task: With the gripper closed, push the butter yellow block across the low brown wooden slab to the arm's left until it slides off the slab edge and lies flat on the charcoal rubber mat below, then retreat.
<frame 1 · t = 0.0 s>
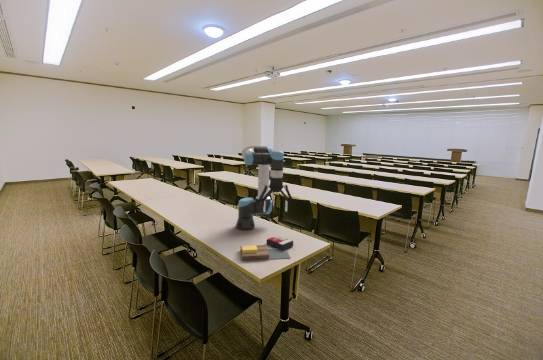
hand: (275, 211, 156), 28 cm above the table, fingers open, 13 cm apart
brown wooden slab: (254, 255, 159), on the table
mat: (277, 253, 162), on the table
butter yellow block: (249, 250, 158), point 3 cm above the table, touching brown wooden slab
calculator: (279, 245, 174), on the table, touching mat
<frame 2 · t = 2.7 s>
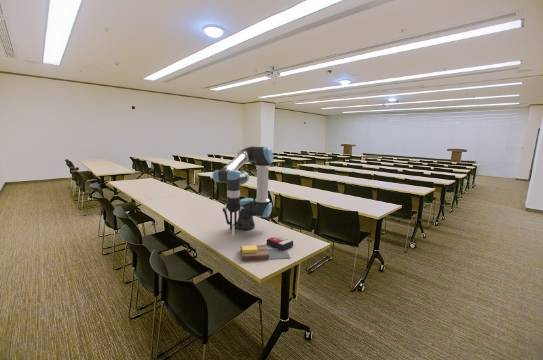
hand: (233, 234, 153), 14 cm above the table, fingers closed
nothing on the table moved.
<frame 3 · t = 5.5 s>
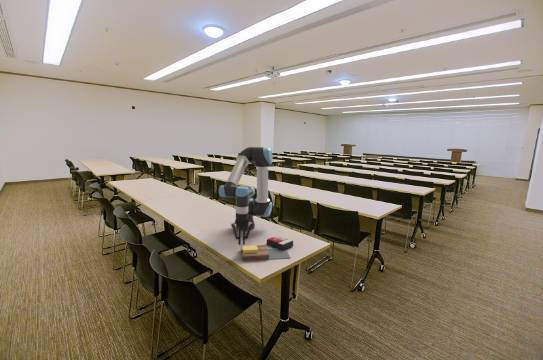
hand: (241, 249, 156), 4 cm above the table, fingers closed
butter yellow block: (250, 250, 158), point 3 cm above the table, touching gripper
everything else where it was.
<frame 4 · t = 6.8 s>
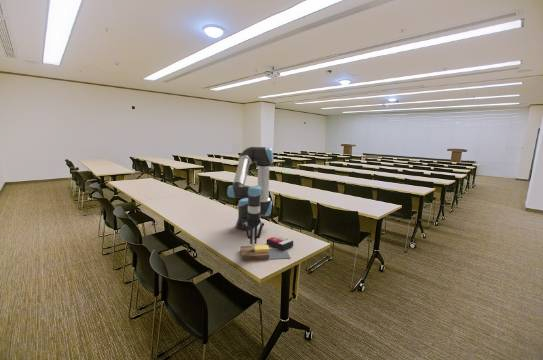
hand: (253, 248, 158), 4 cm above the table, fingers closed
butter yellow block: (261, 250, 159), point 3 cm above the table, touching brown wooden slab
everything else where it was.
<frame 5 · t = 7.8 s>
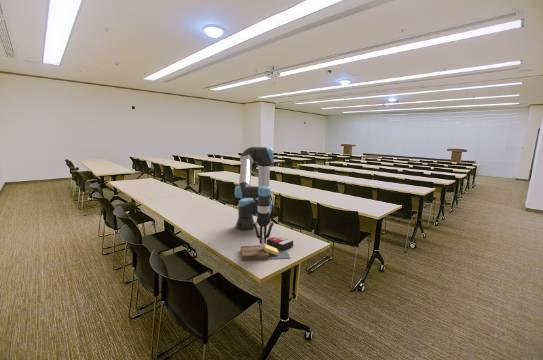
hand: (262, 248, 159), 4 cm above the table, fingers closed
butter yellow block: (270, 251, 160), point 2 cm above the table, tilted 24°, touching gripper, mat
everything else where it was.
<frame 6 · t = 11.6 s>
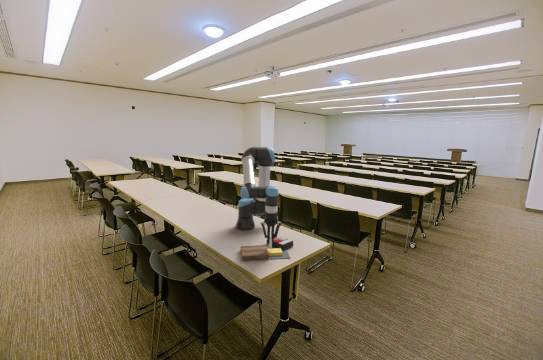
hand: (270, 247, 160), 4 cm above the table, fingers closed
butter yellow block: (274, 253, 161), resting on mat
everything else where it was.
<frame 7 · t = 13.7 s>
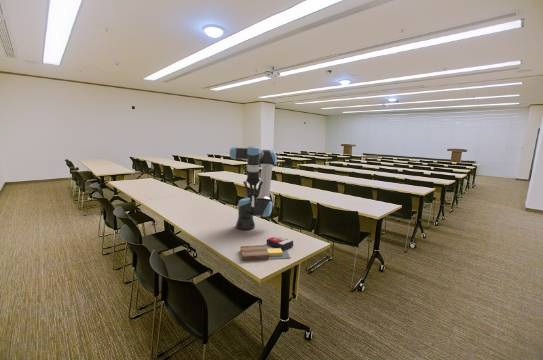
hand: (252, 206, 168), 27 cm above the table, fingers closed
nothing on the table moved.
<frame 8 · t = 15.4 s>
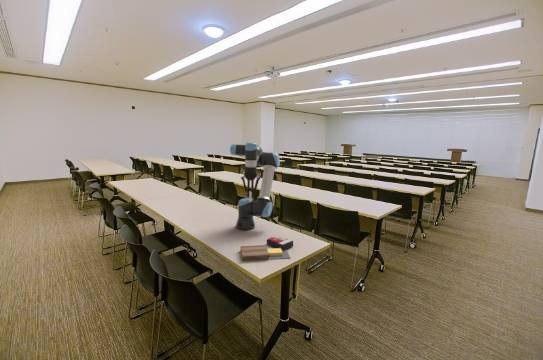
hand: (250, 201, 172), 29 cm above the table, fingers closed
nothing on the table moved.
at the end: butter yellow block inside the target area on the mat (2.1 cm from its centre), point 0.3 cm above the mat's base; butter yellow block resting on mat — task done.
